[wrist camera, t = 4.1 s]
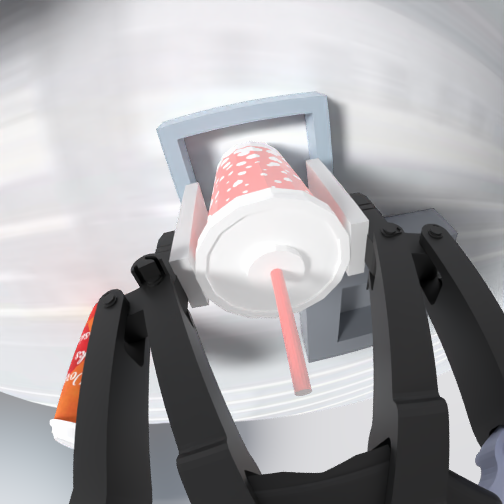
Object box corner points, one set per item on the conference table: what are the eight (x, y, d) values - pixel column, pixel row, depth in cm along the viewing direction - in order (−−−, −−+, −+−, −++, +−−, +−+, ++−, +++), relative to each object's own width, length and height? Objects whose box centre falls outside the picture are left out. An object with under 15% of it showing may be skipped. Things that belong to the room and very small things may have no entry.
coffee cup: (152, 296, 25) (130, 453, 14) (157, 343, 30) (147, 467, 19) (74, 286, 24) (29, 425, 12) (91, 333, 29) (67, 449, 17)
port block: (291, 235, 22) (305, 274, 19) (433, 208, 22) (461, 237, 18) (301, 333, 31) (309, 367, 28) (408, 305, 31) (423, 333, 27)
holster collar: (163, 122, 16) (156, 129, 14) (316, 91, 15) (326, 95, 14) (203, 243, 22) (201, 259, 21) (326, 218, 22) (335, 232, 20)
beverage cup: (219, 117, 15) (217, 310, 4) (312, 146, 17) (448, 328, 6) (194, 204, 19) (176, 420, 8) (278, 223, 20) (334, 419, 9)
